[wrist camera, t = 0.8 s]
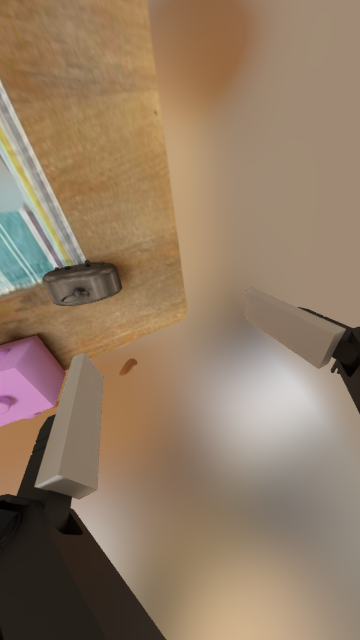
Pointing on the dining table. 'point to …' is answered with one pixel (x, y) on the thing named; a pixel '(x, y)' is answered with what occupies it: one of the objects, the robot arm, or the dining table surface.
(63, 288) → the alarm clock
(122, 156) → the dining table surface
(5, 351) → the pink toy block
